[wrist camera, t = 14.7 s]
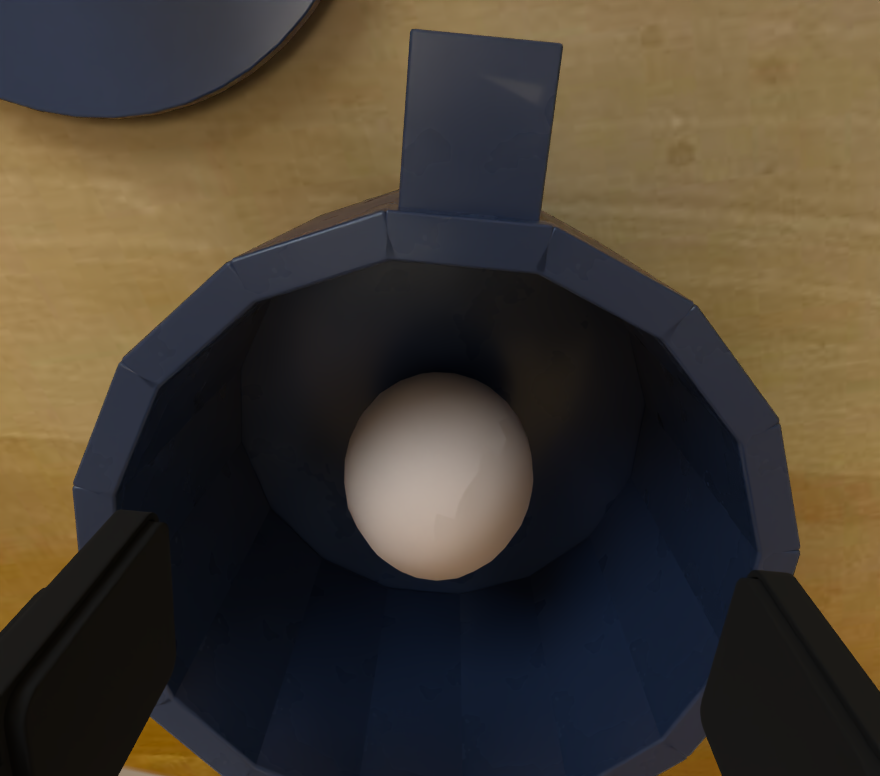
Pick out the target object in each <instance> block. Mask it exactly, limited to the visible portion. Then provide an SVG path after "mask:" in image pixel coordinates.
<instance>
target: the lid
mask: <svg viewBox="0 0 880 776" xmlns="http://www.w3.org/2000/svg"><path fill="white" fill-rule="evenodd" d="M320 1H321V0H0V99H2V100H5V101H8V102H11V103H15V104H18V105H21V106H25V107H28V108H31V109H35V110H38V111H42V112H48V113H54V114H60V115H67V116H73V117H80V118H106V119H125V118H133V117H142V116H150V115H158V114H162V113H165V112H169V111H173V110H176V109H180V108H184V107H187V106H191V105H193V104H196V103H198V102H200V101H203V100H205V99H207V98H209V97H212V96H214V95H216V94H218V93H221V92H223V91H225V90H227V89H228V88H230V87H231V86H233V85H234V84H236V83H238V82H239V81H241V80H242V79H244V78H246V77H247V76H249V75H250V74H252V73H253V72H255V71H256V70H257V69H259V68H260V67H261V66H262V65H263V64H264V63H266V62H267V61H268V60H269V59H270V58H271V57H273V56H274V55H275V54H276V53H277V52H278V51H279V50H281V49H282V48H283V47H284V46H285V45H286V44H287V43H288V41H289V40H290V39H291V38H292V37H293V36H294V35H295V33H296V32H297V31H298V30H299V29H300V28H301V27H302V25H303V24H304V23H305V22H306V21H307V20H308V19H309V17H310V16H311V14H312V13H313V11H314V10H315V8H316V7H317V5H318V4H319V2H320Z"/></svg>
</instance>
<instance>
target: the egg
mask: <svg viewBox="0 0 880 776" xmlns="http://www.w3.org/2000/svg"><path fill="white" fill-rule="evenodd" d="M344 485H345V492H346V498H347V505H348V509H349V511H350V513H351V515H352V518H353V520H354V522H355V524H356V526H357V528H358V530H359V531H360V532H361V534H362V535H363V537H364V538H365V540H366V541H367V542H368V544H369V545H370V547H371V548H372V549H373V550H374V552H375V553H376V554H377V555H378V556H379V557H380V558H382V559H383V560H384V561H386V562H387V563H388V564H390V565H391V566H393V567H394V568H396V569H398V570H399V571H401V572H403V573H406V574H408V575H411V576H413V577H416V578H421V579H428V580H435V581H438V580H447V579H456V578H459V577H462V576H464V575H466V574H469V573H471V572H474V571H475V570H477V569H479V568H481V567H482V566H484V565H486V564H487V563H489V562H491V561H492V560H493V559H494V558H495V557H496V556H497V555H498V554H499V553H500V552H501V551H502V550H503V549H504V548H505V547H506V546H507V544H508V543H509V542H510V540H511V539H512V538H513V536H514V535H515V533H516V532H517V531H518V529H519V528H520V526H521V525H522V522H523V520H524V517H525V515H526V512H527V510H528V506H529V502H530V498H531V493H532V487H533V469H532V455H531V451H530V446H529V442H528V438H527V435H526V433H525V431H524V429H523V426H522V424H521V422H520V420H519V418H518V416H517V415H516V414H515V412H514V411H513V410H512V408H511V407H510V406H509V404H508V403H507V402H506V401H505V400H504V399H503V398H502V397H500V396H499V395H498V394H497V393H496V392H495V391H493V390H492V389H491V388H490V387H488V386H487V385H485V384H483V383H481V382H479V381H477V380H475V379H472V378H469V377H466V376H462V375H459V374H456V373H442V372H431V373H422V374H418V375H415V376H413V377H410V378H407V379H404V380H401V381H399V382H397V383H396V384H394V385H392V386H391V387H389V388H388V389H386V390H385V391H383V392H381V393H380V394H379V395H378V396H377V397H376V399H375V400H374V401H373V402H372V403H371V404H370V405H369V406H368V408H367V409H366V410H365V411H364V412H363V413H362V415H361V417H360V418H359V420H358V422H357V425H356V427H355V429H354V431H353V433H352V435H351V437H350V440H349V444H348V448H347V453H346V457H345V466H344Z"/></svg>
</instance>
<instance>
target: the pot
mask: <svg viewBox="0 0 880 776" xmlns="http://www.w3.org/2000/svg"><path fill="white" fill-rule="evenodd" d="M562 51H563V45H562V44H561V43H553V42H543V41H533V40H523V39H513V38H502V37H492V36H482V35H472V34H462V33H451V32H441V31H431V30H421V29H412V30H411V32H410V42H409V57H408V71H407V86H406V101H405V115H404V130H403V145H402V159H401V174H400V189H399V190H396V191H393V192H390V193H387V194H384V195H381V196H378V197H375V198H371V199H367V200H365V201H362V202H359V203H356V204H353V205H350V206H347V207H344V208H341V209H338V210H335V211H332V212H329V213H326V214H323V215H320V216H318V217H316V218H314V219H312V220H310V221H308V222H306V223H304V224H302V225H300V226H298V227H296V228H294V229H292V230H290V231H288V232H286V233H284V234H282V235H279V236H277V237H275V238H273V239H271V240H269V241H267V242H265V243H263V244H261V245H259V246H257V247H255V248H253V249H251V250H249V251H247V252H245V253H243V254H241V255H239V256H237V257H235V258H233V259H232V260H230V261H228V262H226V263H225V264H224V265H223V266H222V267H221V268H220V269H219V270H218V271H216V272H215V273H214V274H213V275H212V276H211V277H210V278H209V279H208V280H207V281H206V282H204V283H203V284H202V285H201V286H200V287H199V288H198V289H197V290H196V291H195V292H194V293H192V294H191V295H190V296H189V297H188V298H187V299H186V300H185V301H184V302H183V303H182V304H181V305H179V306H178V307H177V308H176V309H175V310H174V311H173V312H172V313H171V314H170V315H169V316H167V317H166V318H165V319H164V320H163V321H162V322H161V323H160V324H159V325H158V326H157V327H155V328H154V329H153V330H152V331H151V332H150V333H149V334H148V335H147V336H146V337H145V338H144V339H142V340H141V341H140V342H139V343H138V344H137V345H136V346H135V347H134V348H133V349H132V350H130V351H129V352H128V353H127V354H126V355H125V356H124V357H123V359H122V361H121V362H120V363H119V364H118V367H117V369H116V372H115V374H114V377H113V380H112V382H111V385H110V387H109V390H108V393H107V395H106V398H105V400H104V403H103V406H102V408H101V411H100V414H99V416H98V419H97V421H96V424H95V427H94V429H93V432H92V434H91V437H90V440H89V442H88V445H87V447H86V450H85V453H84V455H83V458H82V460H81V463H80V466H79V468H78V471H77V474H76V476H75V479H74V482H73V484H74V486H73V499H74V509H75V519H76V529H77V540H78V550H79V551H80V550H81V549H82V547H83V546H84V545H85V544H86V543H87V542H88V541H89V540H90V539H91V538H92V536H93V535H94V534H95V533H96V532H97V531H98V530H99V529H100V528H101V527H102V525H103V524H104V523H105V522H106V521H107V520H108V519H109V518H110V517H111V516H112V514H113V513H115V512H116V511H117V510H121V509H122V510H132V511H143V512H153V513H155V514H157V517H158V519H159V522H164V523H166V524H167V525H168V528H169V540H170V557H171V574H172V590H173V607H174V624H175V641H176V660H175V665H174V669H173V672H172V675H171V677H170V679H169V681H168V683H167V685H166V687H165V689H164V691H163V692H162V694H161V696H160V698H159V700H158V702H157V704H156V706H155V707H154V709H153V711H152V713H151V715H150V717H151V718H152V719H153V720H155V721H156V722H157V723H158V724H160V725H161V726H162V727H163V728H164V729H166V730H167V731H168V732H169V733H170V734H172V735H173V736H174V737H175V738H176V739H178V740H179V741H180V742H181V743H183V744H184V745H185V746H186V747H187V748H189V749H190V750H191V751H192V752H193V753H195V754H196V755H197V756H198V757H200V758H201V759H202V760H203V761H204V762H206V763H207V764H208V765H209V766H210V767H212V768H213V769H214V770H215V771H217V772H218V773H219V774H220V775H221V776H657V775H659V774H661V773H662V772H664V771H666V770H668V769H669V768H671V767H673V766H675V765H677V764H678V763H680V762H682V761H684V760H685V759H686V758H687V756H690V755H691V754H692V752H693V751H694V750H695V749H696V748H697V747H698V745H699V744H700V743H701V742H702V741H703V740H704V738H705V737H706V734H705V732H704V729H703V726H702V723H701V716H700V706H701V701H702V697H703V694H704V691H705V687H706V684H707V680H708V677H709V674H710V670H711V667H712V663H713V660H714V657H715V653H716V650H717V646H718V643H719V640H720V636H721V633H722V629H723V626H724V623H725V619H726V616H727V613H728V609H729V606H730V602H731V599H732V596H733V592H734V589H735V585H736V583H737V581H738V580H739V579H740V578H747V576H748V574H749V573H750V572H751V571H753V570H764V571H774V572H785V573H790V574H792V575H794V572H795V568H796V565H797V562H798V559H799V555H800V551H799V548H800V542H799V536H798V529H797V523H796V517H795V511H794V505H793V499H792V492H791V486H790V480H789V474H788V468H787V462H786V455H785V449H784V443H783V437H782V431H781V425H780V424H779V418H778V416H777V415H776V414H775V412H774V411H773V409H772V408H771V407H770V405H769V404H768V403H767V401H766V400H765V398H764V397H763V396H762V394H761V393H760V392H759V390H758V389H757V387H756V386H755V385H754V383H753V382H752V380H751V379H750V378H749V376H748V375H747V374H746V372H745V371H744V369H743V368H742V367H741V365H740V364H739V363H738V361H737V360H736V358H735V357H734V356H733V354H732V353H731V351H730V350H729V349H728V347H727V346H726V345H725V343H724V342H723V340H722V339H721V338H720V336H719V335H718V334H717V332H716V331H715V329H714V328H713V327H712V325H711V324H710V322H709V321H708V320H707V318H706V317H705V316H704V314H703V313H702V311H701V310H700V309H699V307H698V306H697V305H695V304H694V303H693V302H692V301H691V300H689V299H688V298H686V297H685V296H683V295H681V294H680V293H678V292H677V291H675V290H674V289H672V288H670V287H669V286H667V285H666V284H664V283H662V282H661V281H659V280H658V279H656V278H655V277H653V276H651V275H650V274H648V273H647V272H645V271H644V270H642V269H640V268H639V267H637V266H636V265H634V264H632V263H631V262H629V261H628V260H626V259H625V258H623V257H621V256H620V255H618V254H617V253H615V252H614V251H612V250H610V249H609V248H607V247H606V246H604V245H602V244H601V243H599V242H598V241H596V240H594V239H592V238H591V237H589V236H587V235H585V234H583V233H582V232H580V231H578V230H576V229H574V228H573V227H571V226H569V225H567V224H565V223H564V222H562V221H560V220H558V219H556V218H555V217H553V216H551V215H549V214H547V213H545V212H544V211H542V210H541V206H542V199H543V191H544V184H545V177H546V169H547V162H548V154H549V147H550V140H551V132H552V125H553V118H554V110H555V103H556V95H557V88H558V81H559V73H560V66H561V59H562ZM431 372H442V373H456V374H459V375H462V376H466V377H469V378H472V379H475V380H477V381H479V382H481V383H483V384H485V385H487V386H488V387H490V388H491V389H492V390H493V391H495V392H496V393H497V394H498V395H499V396H500V397H502V398H503V399H504V400H505V401H506V402H507V403H508V404H509V406H510V407H511V408H512V410H513V411H514V412H515V414H516V415H517V416H518V418H519V420H520V422H521V424H522V426H523V429H524V431H525V433H526V435H527V438H528V442H529V446H530V451H531V455H532V469H533V487H532V493H531V498H530V502H529V506H528V510H527V512H526V515H525V517H524V520H523V522H522V525H521V526H520V528H519V529H518V531H517V532H516V533H515V535H514V536H513V538H512V539H511V540H510V542H509V543H508V544H507V546H506V547H505V548H504V549H503V550H502V551H501V552H500V553H499V554H498V555H497V556H496V557H495V558H494V559H493V560H492V561H491V562H489V563H487V564H486V565H484V566H482V567H481V568H479V569H477V570H475V571H474V572H471V573H469V574H466V575H464V576H462V577H459V578H456V579H447V580H438V581H435V580H428V579H421V578H416V577H413V576H411V575H408V574H406V573H403V572H401V571H399V570H398V569H396V568H394V567H393V566H391V565H390V564H388V563H387V562H386V561H384V560H383V559H382V558H380V557H379V556H378V555H377V554H376V553H375V552H374V550H373V549H372V548H371V547H370V545H369V544H368V542H367V541H366V540H365V538H364V537H363V535H362V534H361V532H360V531H359V530H358V528H357V526H356V524H355V522H354V520H353V518H352V515H351V513H350V511H349V509H348V505H347V498H346V492H345V485H344V466H345V457H346V453H347V448H348V444H349V440H350V437H351V435H352V433H353V431H354V429H355V427H356V425H357V422H358V420H359V418H360V417H361V415H362V413H363V412H364V411H365V410H366V409H367V408H368V406H369V405H370V404H371V403H372V402H373V401H374V400H375V399H376V397H377V396H378V395H379V394H380V393H381V392H383V391H385V390H386V389H388V388H389V387H391V386H392V385H394V384H396V383H397V382H399V381H401V380H404V379H407V378H410V377H413V376H415V375H418V374H422V373H431Z"/></svg>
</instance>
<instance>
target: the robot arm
mask: <svg viewBox="0 0 880 776" xmlns="http://www.w3.org/2000/svg"><path fill="white" fill-rule="evenodd" d="M175 660H176V641H175V624H174V607H173V590H172V574H171V557H170V540H169V528H168V525H167V524H166V523H164V522H159V519H158V517H157V514H155V513H153V512H143V511H132V510H122V509H121V510H117V511H116V512H115V513H113V514H112V516H111V517H110V518H109V519H108V520H107V521H106V522H105V523H104V524H103V525H102V527H101V528H100V529H99V530H98V531H97V532H96V533H95V534H94V535H93V536H92V538H91V539H90V540H89V541H88V542H87V543H86V544H85V545H84V546H83V547H82V549H81V550H80V551H79V552H78V553H77V554H76V555H75V556H74V557H73V558H72V560H71V561H70V562H69V563H68V564H67V565H66V566H65V567H64V568H63V569H62V571H61V572H60V573H59V574H58V575H57V576H56V577H55V578H54V579H53V580H52V582H51V583H50V584H49V585H48V586H47V587H46V588H43V589H41V590H40V591H39V592H38V593H37V594H35V595H34V596H33V597H32V598H31V600H30V601H29V602H28V603H27V604H26V605H25V606H24V607H23V608H22V609H21V610H20V612H19V613H18V614H17V615H16V616H15V617H14V618H13V619H12V620H11V621H10V622H9V623H8V625H7V626H6V627H5V628H4V629H3V630H2V631H1V632H0V776H118V775H119V773H120V771H121V769H122V767H123V766H124V764H125V762H126V760H127V758H128V756H129V754H130V752H131V751H132V749H133V747H134V745H135V743H136V741H137V739H138V737H139V736H140V734H141V732H142V730H143V728H144V726H145V724H146V722H147V721H148V719H149V717H150V715H151V713H152V711H153V709H154V707H155V706H156V704H157V702H158V700H159V698H160V696H161V694H162V692H163V691H164V689H165V687H166V685H167V683H168V681H169V679H170V677H171V675H172V672H173V669H174V665H175ZM700 716H701V723H702V726H703V729H704V732H705V734H706V737H707V739H708V742H709V744H710V747H711V749H712V752H713V754H714V757H715V759H716V762H717V764H718V767H719V769H720V772H721V774H722V776H880V691H879V690H878V689H877V687H876V686H875V685H874V683H873V682H872V681H871V679H870V678H869V677H868V675H867V674H866V673H865V671H864V670H863V668H862V667H861V666H860V664H859V663H858V662H857V660H856V659H855V658H854V656H853V655H852V654H851V652H850V651H849V650H848V648H847V647H846V646H845V644H844V643H843V642H842V640H841V639H840V637H839V636H838V635H837V633H836V632H835V631H834V629H833V628H832V627H831V625H830V624H829V623H828V621H827V620H826V619H825V617H824V616H823V615H822V613H821V612H820V610H819V609H818V608H817V606H816V605H815V604H814V602H813V601H812V600H811V598H810V597H809V596H808V594H807V593H806V592H805V590H804V589H803V588H802V586H801V585H800V583H799V582H798V581H797V579H796V578H795V577H794V576H793V575H792V574H790V573H785V572H774V571H764V570H753V571H751V572H750V573H749V574H748V576H747V578H740V579H739V580H738V581H737V583H736V585H735V589H734V592H733V596H732V599H731V602H730V606H729V609H728V613H727V616H726V619H725V623H724V626H723V629H722V633H721V636H720V640H719V643H718V646H717V650H716V653H715V657H714V660H713V663H712V667H711V670H710V674H709V677H708V680H707V684H706V687H705V691H704V694H703V697H702V701H701V706H700Z"/></svg>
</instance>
